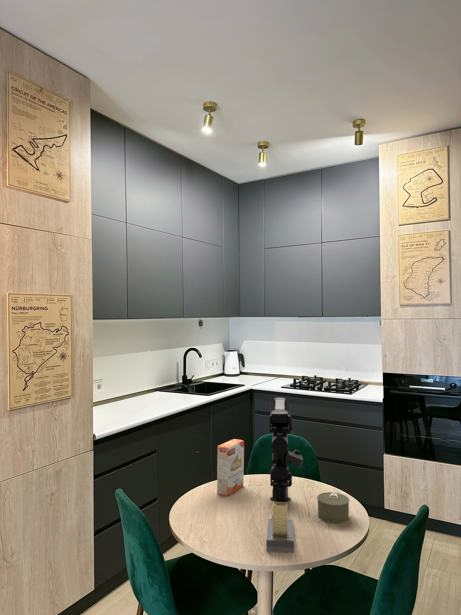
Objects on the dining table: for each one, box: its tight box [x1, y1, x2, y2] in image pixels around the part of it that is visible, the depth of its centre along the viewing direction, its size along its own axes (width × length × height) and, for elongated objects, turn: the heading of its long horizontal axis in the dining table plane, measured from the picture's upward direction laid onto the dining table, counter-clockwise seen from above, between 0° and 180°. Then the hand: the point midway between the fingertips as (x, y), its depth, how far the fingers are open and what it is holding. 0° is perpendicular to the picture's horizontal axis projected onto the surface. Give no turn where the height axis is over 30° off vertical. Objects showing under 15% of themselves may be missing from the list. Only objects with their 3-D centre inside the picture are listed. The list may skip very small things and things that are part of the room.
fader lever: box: [271, 500, 289, 540], centre depth 147 cm, size 5×6×12 cm
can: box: [316, 491, 350, 524], centre depth 169 cm, size 12×12×7 cm
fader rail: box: [265, 518, 295, 554], centre depth 153 cm, size 20×9×4 cm, turn 173°
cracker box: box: [216, 438, 245, 497], centre depth 195 cm, size 14×6×21 cm, turn 148°
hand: (280, 487), depth 164 cm, fingers closed
